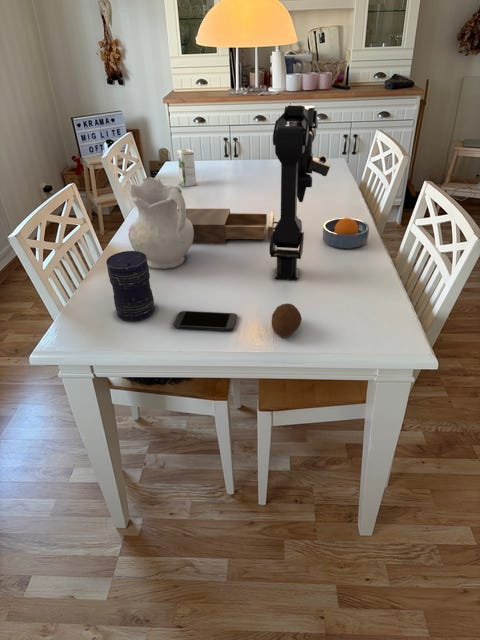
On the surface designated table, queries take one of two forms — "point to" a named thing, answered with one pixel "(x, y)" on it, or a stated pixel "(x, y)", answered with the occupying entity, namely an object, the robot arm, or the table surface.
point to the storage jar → (131, 285)
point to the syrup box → (186, 167)
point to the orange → (346, 227)
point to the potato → (286, 320)
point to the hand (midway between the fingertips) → (301, 200)
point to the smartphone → (205, 320)
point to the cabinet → (208, 225)
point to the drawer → (249, 226)
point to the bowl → (345, 240)
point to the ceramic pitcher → (160, 224)
